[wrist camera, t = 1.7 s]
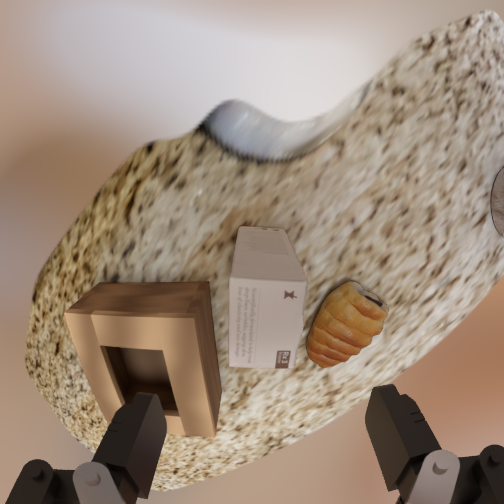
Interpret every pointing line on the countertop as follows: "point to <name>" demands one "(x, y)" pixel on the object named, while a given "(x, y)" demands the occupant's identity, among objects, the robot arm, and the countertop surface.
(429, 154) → the countertop surface
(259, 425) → the countertop surface
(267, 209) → the countertop surface
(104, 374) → the slot box
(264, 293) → the skincare box
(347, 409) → the countertop surface
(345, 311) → the pastry
